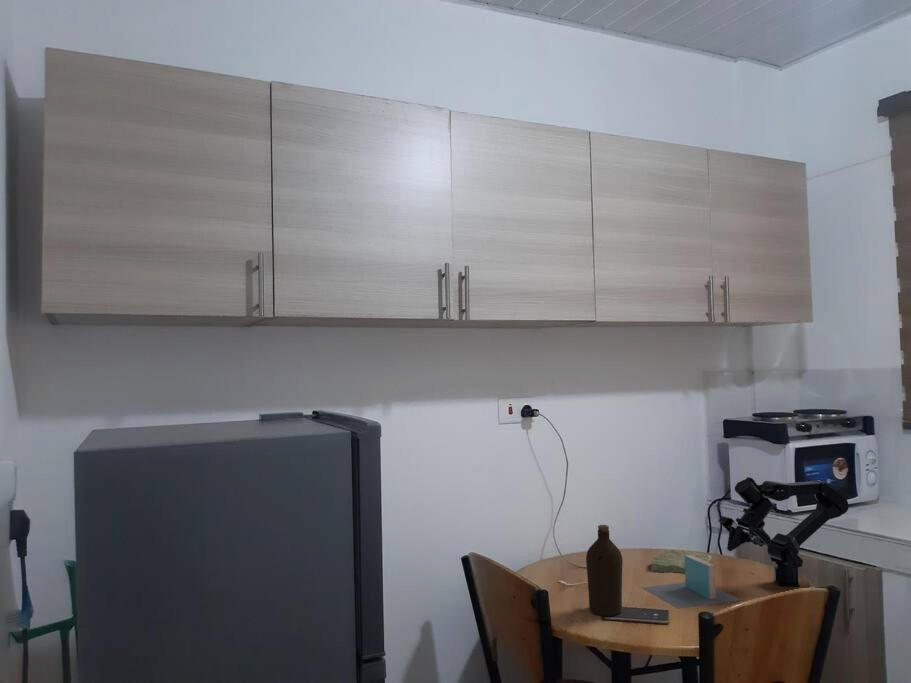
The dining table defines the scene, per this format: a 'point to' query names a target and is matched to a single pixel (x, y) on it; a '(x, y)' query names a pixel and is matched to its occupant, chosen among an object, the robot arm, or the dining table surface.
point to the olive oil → (604, 575)
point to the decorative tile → (675, 561)
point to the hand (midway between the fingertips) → (728, 550)
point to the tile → (700, 576)
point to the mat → (686, 595)
